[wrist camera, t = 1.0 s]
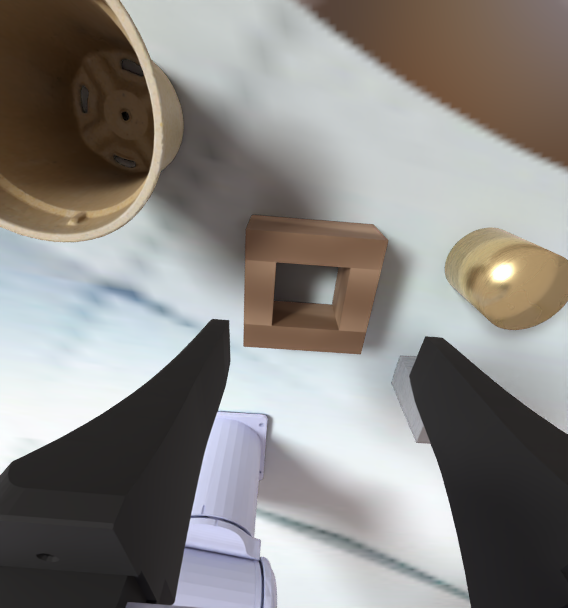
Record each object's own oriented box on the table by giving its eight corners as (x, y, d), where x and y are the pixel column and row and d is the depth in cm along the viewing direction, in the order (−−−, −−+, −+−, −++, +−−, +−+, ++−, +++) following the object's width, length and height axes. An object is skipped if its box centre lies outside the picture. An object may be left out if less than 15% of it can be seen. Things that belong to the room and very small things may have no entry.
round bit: (499, 294, 23) (549, 332, 19) (435, 289, 23) (471, 327, 19) (528, 230, 21) (593, 256, 16) (458, 224, 21) (504, 249, 16)
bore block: (351, 326, 24) (360, 354, 21) (248, 319, 24) (243, 346, 21) (373, 224, 21) (388, 240, 18) (251, 214, 20) (245, 229, 17)
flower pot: (194, -5, 15) (104, -140, 8) (227, 194, 20) (190, 232, 12) (11, 17, 16) (-241, -89, 8) (83, 207, 20) (-37, 252, 13)
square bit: (425, 385, 27) (458, 445, 22) (391, 382, 27) (416, 442, 22) (435, 357, 26) (473, 415, 21) (399, 355, 26) (428, 412, 21)
